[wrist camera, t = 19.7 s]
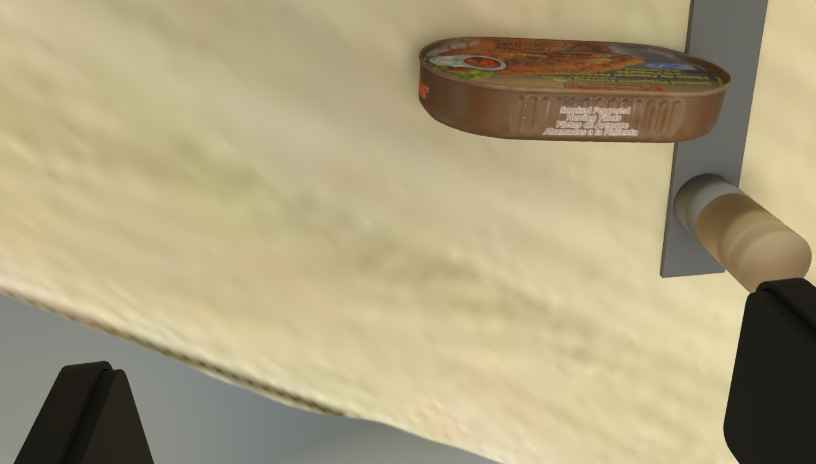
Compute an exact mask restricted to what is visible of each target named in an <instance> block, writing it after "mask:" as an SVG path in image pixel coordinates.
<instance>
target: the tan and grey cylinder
mask: <svg viewBox="0 0 816 464" xmlns="http://www.w3.org/2000/svg"><path fill="white" fill-rule="evenodd" d="M673 211H674V215H675V217H676V219H677V220H678V222H679V223H680V224H681V225H682V226H683V227H684V228H685V229H686V230H687V231H688V232H689V233H690V234H691V235H692V236H693V237H694V238H695V239H696V240H697V241H698V242H699V243H700V244H701V245H702V246H703V247H704V248H705V249H706V250H707V251H708V252H709V253H710V254H711V255H712V256H713V257H714V258H715V259H716V260H717V261H718V262H719V263H720V264H721V265H722V266H723V267H724V268H725V269H726V270H727V271H728V272H729V273H730V274H731V275H732V276H733V277H734V278H735V279H736V280H737V281H738V282H739V283H740V284H741V285H742V286H743V287H744V288H745V289H746V290H747V291H749V292H750V293H753V292H756V289H757V287H758V285H759V284H760V283H762V282H764V281H772V280H780V279H788V278H797V277H798V278H804V276H805V275H806V273H807V272H808V270H809V267H810V264H811V259H812V254H811V249H810V246H809V244H808V243H807V242H806V240H805V239H803V238H802V237H801V236H800V235H798V234H797V233H796V232H794V231H793V230H792V229H790V228H789V227H788V226H787V225H785V224H784V223H783V222H781V221H780V220H779V219H777V218H776V217H775V216H773V215H772V214H771V213H770V212H768V211H767V210H766V209H764V208H763V207H762V206H760V205H759V204H758V203H757V202H755V201H754V200H753V199H751V198H750V197H749V196H747V195H746V194H745V193H743V192H742V191H741V190H740V189H738V188H737V187H736V186H734V185H733V184H732V183H730V182H729V181H728V180H726V179H725V178H724V177H722V176H720V175H718V174H712V173H706V174H701V175H698V176H695V177H693V178H691V179H690V180H688V181H687V182H686V183H685V184H684V185H683V186H682V187H681V188H680V189H679V191H678V192H677V194H676V196H675V199H674V203H673Z"/></svg>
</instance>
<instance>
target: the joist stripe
mask: <svg viewBox="0 0 816 464" xmlns="http://www.w3.org/2000/svg"><path fill="white" fill-rule="evenodd" d="M767 4H768V0H691V7H690V16H689V25H688V33H687V42H686V51H685V54H688V55H691V56H695V57H698V58H701V59H704V60H706V61H709V62H711V63H714V64H716V65H717V66H720V67H721V68H723V69H724V70H725V71H727V72H728V73H729V74H730V76H731V84H730V86H729V87H728V88H727V90H726V93H725V97H724V100H723V104H722V107H721V110H720V114H719V117H718V119H717V122H716V124H715V126H714V128H713V129H712V130H711V132H709V133H708V134H706V135H704V136H702V137H700V138H697V139H694V140H690V141H683V142H675V147H674V156H673V164H672V173H671V182H670V191H669V199H668V208H667V217H666V226H665V234H664V243H663V252H662V261H661V269H660V276H661V277H662V278H667V277H679V276H690V275H701V274H712V273H723V272H725V268H724V267H723V266H722V265H721V264H720V263H719V262H718V261H717V260H716V259H715V258H714V257H713V256H712V255H711V254H710V253H709V252H708V251H707V250H706V249H705V248H704V247H703V246H702V245H701V244H700V243H699V242H698V241H697V240H696V239H695V238H694V237H693V236H692V235H691V234H690V233H689V232H688V231H687V230H686V229H685V228H684V227H683V226H682V225H681V224H680V223H679V222H678V220H677V219H676V217H675V215H674V211H673V203H674V199H675V196H676V194H677V192H678V191H679V189H680V188H681V187H682V186H683V185H684V184H685V183H686V182H687V181H688V180H690V179H691V178H693V177H695V176H698V175H701V174H706V173H712V174H718V175H720V176H722V177H724V178H725V179H726V180H728V181H729V182H730V183H732V184H733V185H734V186H736V187H737V188H738V186H739V180H740V174H741V167H742V161H743V155H744V149H745V142H746V136H747V130H748V123H749V117H750V111H751V105H752V98H753V92H754V86H755V79H756V73H757V67H758V61H759V54H760V48H761V42H762V35H763V29H764V23H765V16H766V10H767Z"/></svg>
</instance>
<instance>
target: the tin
mask: <svg viewBox="0 0 816 464" xmlns="http://www.w3.org/2000/svg"><path fill="white" fill-rule="evenodd" d="M419 60H420V62H421V64H420V79H419V100H420V102H421V104H422V106H423V107H424V108H425V110H426V111H427V112H428V113H429V114H430V115H431V116H432V117H433V118H434V119H435V120H437V121H439V122H441V123H443V124H445V125H447V126H449V127H452V128H455V129H458V130H460V131H464V132H468V133H471V134H476V135H482V136H488V137H495V138H503V139H519V140H548V141H582V142H583V141H592V142H642V143H671V142H683V141H690V140H694V139H697V138H700V137H702V136H704V135H706V134H708V133H709V132H711V130H712V129H713V128H714V126H715V124H716V122H717V119H718V117H719V114H720V110H721V107H722V104H723V100H724V97H725V93H726V90H727V88H728V87H729V86H730V84H731V76H730V74H729V73H728V72H727V71H725V70H724V69H723V68H721V67H720V66H717V65H716V64H714V63H711V62H709V61H706V60H704V59H701V58H698V57H695V56H691V55H688V54H685V53H681V52H677V51H674V50H670V49H665V48H660V47H655V46H648V45H641V44H630V43H619V42H597V41H573V40H546V39H525V38H499V37H466V38H454V39H446V40H441V41H438V42H434V43H432V44H430V45H427V46H426V47H424V48H423V49H422V50H421V51H420V53H419Z"/></svg>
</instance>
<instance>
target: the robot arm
mask: <svg viewBox="0 0 816 464" xmlns="http://www.w3.org/2000/svg"><path fill="white" fill-rule="evenodd" d="M723 430H724V437H725V441H726V443H727V446H728V448H729V449H730V451H731V452H732V454H733V455H734V457H735V458H736V460H737V461H738V462H739V464H816V287H815V286H813V285H812V284H811V283H810V282H809V281H807V280H805V279H804V278H798V277H797V278H788V279H780V280H772V281H764V282H762V283H760V284H759V285H758V287H757V289H756V292H753V293H750V294H749V296H748V297H747V300H746V304H745V310H744V315H743V321H742V326H741V332H740V337H739V342H738V348H737V353H736V359H735V364H734V370H733V375H732V381H731V386H730V392H729V397H728V403H727V408H726V414H725V419H724V426H723ZM14 464H154V462H153V459H152V456H151V453H150V449H149V446H148V443H147V440H146V437H145V434H144V430H143V427H142V424H141V421H140V417H139V414H138V411H137V408H136V405H135V401H134V398H133V395H132V392H131V389H130V385H129V382H128V379H127V376H126V374H125V372H124V371H123V370H121V369H118V370H113V369H112V367H111V365H110V364H109V362H106V361H100V362H92V363H84V364H76V365H67V366H65V367H63V368H62V370H61V371H60V372H59V374H58V376H57V378H56V380H55V382H54V385H53V386H52V389H51V390H50V392H49V394H48V396H47V398H46V400H45V402H44V405H43V406H42V408H41V410H40V412H39V415H38V416H37V418H36V420H35V422H34V424H33V426H32V428H31V430H30V432H29V434H28V436H27V438H26V441H25V442H24V444H23V446H22V448H21V450H20V452H19V454H18V456H17V458H16V460H15V462H14Z"/></svg>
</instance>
